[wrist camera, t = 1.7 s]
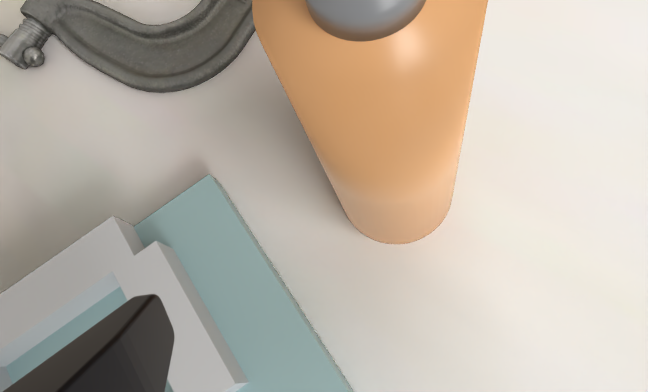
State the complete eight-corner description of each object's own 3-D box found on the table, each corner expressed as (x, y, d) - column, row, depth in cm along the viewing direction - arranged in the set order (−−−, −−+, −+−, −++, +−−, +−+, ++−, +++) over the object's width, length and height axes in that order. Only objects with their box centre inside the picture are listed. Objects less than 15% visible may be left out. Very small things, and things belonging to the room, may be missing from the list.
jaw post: (476, 200, 21) (554, -38, 9) (383, 266, 21) (328, 121, 9) (407, 119, 23) (389, -178, 10) (320, 180, 23) (196, -47, 10)
